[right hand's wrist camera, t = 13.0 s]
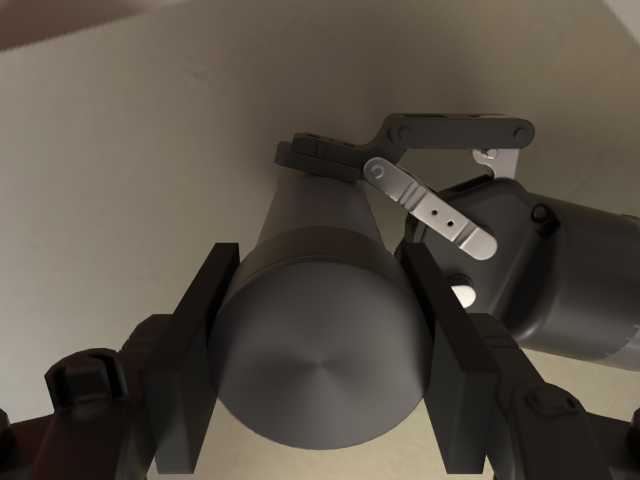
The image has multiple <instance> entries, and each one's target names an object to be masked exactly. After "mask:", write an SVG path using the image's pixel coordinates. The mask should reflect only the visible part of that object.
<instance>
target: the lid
mask: <svg viewBox="0 0 640 480" xmlns="http://www.w3.org/2000/svg"><path fill="white" fill-rule="evenodd" d="M433 351H434V341H433V337H432V333H431V330H430V327H429V324H428V322H427V320H426V317H425V315H424V313H423V310H422V308H421V306H420V303H419V301H418V299H417V296H416V294H415V292H414V289H413V287H412V285H411V282H410V280H409V278H408V276H407V274H406V272H405V270H404V269H403V267H402V266H401V264H400V263H399V261H398V260H397V259H396V258H395V257H394V256H393V255H392V254H391V253H390V252H389V251H388V250H387V249H386V248H384V247H383V246H382V245H381V244H379V243H377V242H376V241H374V240H373V239H371V238H369V237H367V236H365V235H363V234H361V233H358V232H355V231H352V230H349V229H344V228H339V227H334V226H307V227H301V228H296V229H292V230H289V231H286V232H282V233H280V234H278V235H276V236H274V237H271V238H269V239H268V240H266V241H265V242H263V243H261V244H260V245H258V246H257V247H256V248H255V249H254V250H253V251H251V252H250V253H249V254H248V255H247V256H246V257H245V259H244V260H243V261H242V262H241V263H240V265H239V266H238V268H237V269H236V271H235V273H234V275H233V277H232V279H231V281H230V283H229V286H228V288H227V291H226V293H225V295H224V298H223V300H222V302H221V305H220V307H219V309H218V312H217V314H216V316H215V319H214V321H213V323H212V326H211V329H210V332H209V335H208V339H207V356H208V365H209V373H210V380H211V384H212V387H213V389H214V391H215V393H216V395H217V397H218V399H219V400H220V402H221V403H222V404H223V406H224V407H225V408H226V410H227V411H228V412H229V413H230V414H231V415H232V416H233V417H234V418H235V419H236V420H237V421H239V422H240V423H241V424H242V425H244V426H245V427H246V428H248V429H249V430H251V431H253V432H254V433H256V434H258V435H260V436H262V437H264V438H266V439H268V440H271V441H273V442H276V443H279V444H282V445H286V446H290V447H295V448H302V449H312V450H329V449H339V448H346V447H350V446H354V445H358V444H362V443H364V442H367V441H370V440H373V439H375V438H377V437H379V436H381V435H383V434H385V433H386V432H388V431H389V430H391V429H393V428H394V427H396V426H397V425H398V424H399V423H401V422H402V421H403V420H404V419H406V417H407V416H408V415H409V414H410V413H411V412H412V411H413V410H414V409H415V408H416V406H417V405H418V404H419V402H420V401H421V400H422V398H423V396H424V394H425V392H426V390H427V388H428V386H429V383H430V376H431V368H432V360H433Z"/></svg>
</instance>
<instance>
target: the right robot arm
mask: <svg viewBox="0 0 640 480" xmlns="http://www.w3.org/2000/svg"><path fill="white" fill-rule="evenodd" d="M400 264H401V266H402V267H403V269H404V270H405V272H406V274H407V276H408V278H409V280H410V282H411V285H412V287H413V289H414V292H415V294H416V296H417V299H418V301H419V303H420V306H421V308H422V310H423V313H424V315H425V317H426V320H427V322H428V324H429V327H430V330H431V333H432V337H433V341H434V351H433V360H432V368H431V376H430V383H429V386H428V388H427V390H426V392H425V394H424V396H423V398H424V402H425V405H426V408H427V411H428V414H429V418H430V421H431V424H432V427H433V430H434V433H435V437H436V440H437V443H438V446H439V449H440V452H441V456H442V459H443V462H444V465H445V468H446V472H447V474H482V473H483V468H484V463H485V458H486V455H487V457H488V459H489V462H490V464H491V466H492V469H493V471H494V476H493V480H640V408H639V409H637V410H636V411H635V412H634V415H633V418H632V420H631V422H626V421H622V420H618V419H613V418H609V417H604V416H600V415H596V414H592V413H589V412H586V410H585V409H584V407H583V406H582V404H581V403H580V401H579V400H578V399H576V398H575V397H574V396H573V395H571V394H570V393H569V392H568V391H566V390H564V389H562V388H560V387H558V386H556V385H553V384H549V383H546V382H545V381H544V380H543V378H542V377H541V376H540V374H539V373H538V372H537V370H536V369H535V367H534V366H533V365H532V363H531V362H530V360H529V359H528V358H527V356H526V355H525V354H524V352H523V351H522V349H521V348H519V345H518V344H517V342H516V341H515V340H514V338H512V337H511V334H510V333H509V331H508V330H507V329H506V327H505V326H504V324H503V323H501V322H500V321H499V320H497V319H496V318H494V317H493V316H491V315H490V314H488V313H467V312H466V310H465V309H464V307H463V306H462V304H461V302H460V301H459V299H458V297H457V296H456V294H455V292H454V291H453V289H452V287H451V286H450V284H449V282H448V281H447V279H446V277H445V276H444V274H443V273H442V271H441V269H440V268H439V266H438V264H437V263H436V261H435V259H434V258H433V256H432V254H431V253H430V251H429V249H428V248H427V246H426V244H425V243H402V249H401V262H400ZM239 265H240V257H239V244H238V243H216V244H215V245H214V247H213V248H212V250H211V252H210V253H209V255H208V257H207V258H206V260H205V262H204V263H203V265H202V267H201V268H200V270H199V272H198V273H197V275H196V277H195V278H194V280H193V281H192V283H191V285H190V286H189V288H188V290H187V291H186V293H185V295H184V296H183V298H182V300H181V301H180V303H179V305H178V306H177V308H176V310H175V311H174V313H173V314H153V315H151V316H150V317H148V318H147V319H145V320H144V321H143V322H141V323H140V324H138V325H137V327H136V328H135V330H134V331H133V332H132V334H131V335H130V337H129V339H127V341H126V342H125V344H124V345H123V346H122V350H119V352H118V353H117V352H116V351H115V350H111V349H107V348H93V349H88V350H84V351H80V352H76V353H74V354H72V355H69V356H67V357H65V358H63V359H61V360H60V361H59V362H57V363H56V364H54V365H53V366H51V368H50V369H49V370H48V371H47V373H46V374H45V375H44V377H45V380H46V383H47V387H48V390H49V393H50V397H51V400H52V403H53V407H54V410H55V411H54V414H51V415H47V416H44V417H39V418H35V419H31V420H26V421H22V422H17V423H13V424H10V422H9V419H8V416H7V413H5V412H4V411H3V410H2V409H0V480H147V476H146V474H147V472H148V469H149V467H150V465H151V462H152V460H153V458H154V455H155V460H156V466H157V471H158V474H193V473H194V470H195V467H196V463H197V460H198V457H199V454H200V451H201V447H202V444H203V441H204V438H205V435H206V432H207V428H208V425H209V422H210V419H211V416H212V412H213V409H214V406H215V403H216V400H217V395H216V393H215V391H214V389H213V387H212V384H211V380H210V373H209V365H208V356H207V339H208V335H209V332H210V329H211V326H212V323H213V321H214V319H215V316H216V314H217V312H218V309H219V307H220V305H221V302H222V300H223V298H224V295H225V293H226V291H227V288H228V286H229V283H230V281H231V279H232V277H233V275H234V273H235V271H236V269H237V268H238V266H239Z"/></svg>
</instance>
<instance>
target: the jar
mask: <svg viewBox="0 0 640 480" xmlns="http://www.w3.org/2000/svg"><path fill="white" fill-rule="evenodd" d="M307 226H334V227H339V228H344V229H349V230H352V231H355V232H358V233H361V234H363V235H365V236H367V237H369V238H371V239H373V240H374V241H376V242H377V243H379V244H381V245H382V246H383V247H384V248H385V246H384V244H383V241H382V238H381V236H380V233H379V230H378V227H377V225H376V222H375V219H374V217H373V214H372V211H371V208H370V206H369V203H368V200H367V198H366V195H365V192H364V190H363V187H362V184H361V181H360V179H358V181H357V184H353V183H349V182H345V181H341V180H338V179H334V178H329V177H325V176H321V175H317V174H313V173H308V172H304V171H300V170H296V169H292V168H288V167H286V168H285V170H284V171H283V174H282V176H281V179H280V182H279V185H278V187H277V190H276V193H275V195H274V198H273V201H272V204H271V206H270V209H269V212H268V214H267V217H266V220H265V223H264V225H263V228H262V231H261V234H260V236H259V239H258V242H257V244H256V247H257V246H258V245H260V244H261V243H263V242H265V241H266V240H268V239H269V238H271V237H274V236H276V235H278V234H280V233H282V232H286V231H289V230H292V229H296V228H301V227H307ZM256 247H255V248H256Z"/></svg>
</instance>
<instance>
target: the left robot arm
mask: <svg viewBox="0 0 640 480" xmlns="http://www.w3.org/2000/svg"><path fill="white" fill-rule="evenodd" d="M534 134H535V129H534V126H533V124H532V123H531V122H529V121H528V120H524V119H520V118H516V117H511V116H507V115H503V114H429V113H394V114H391V115H389V116H388V117H387V118H386V119H385V120H384V122H383V126H382V128H381V129H380V131H379V132H378V133H377V135H376V136H375V138H374V139H373V140H372V141H371V142H369V143H368V144H365V145H354V144H350V143H347V142H343V141H339V140H335V139H331V138H327V137H323V136H319V135H315V134H311V133H307V132H306V133H299V134H295V136H294V138H293V142H292V143H290V142H283V141H281V142H279V144H278V146H277V150H276V155H275V160H274V162H275V163H276V164H278V165H281V166H284V167H288V168H292V169H296V170H300V171H304V172H308V173H313V174H317V175H321V176H325V177H329V178H334V179H338V180H341V181H345V182H349V183H353V184H357V181H358V179H362V180H366V181H367V182H369V183H370V184H372V185H373V186H374V187H376V188H377V189H379V190H380V191H382V192H383V193H385V194H386V195H388V196H389V197H390V198H392V199H393V200H395V201H396V202H398V203H399V204H400V205H401V206H402V207H403V208H405V209H406V210H407V211H408V215H407V218H406V221H405V236H404V238H403V239H402V241H401V242H400V244H399V245H398V247H397V248H396V250H395V253H394V257H395V258H396V259H397V260H398V261H399V263H400V262H401V249H402V243H425V244H426V246H427V248H428V249H429V251H430V253H431V254H432V256H433V258H434V259H435V261H436V263H437V264H438V266H439V268H440V269H441V271H442V273H443V274H444V276H445V277H446V279H447V281H448V282H449V284H450V286H451V287H452V289H453V291H454V292H455V294H456V296H457V297H458V299H459V301H460V302H461V304H462V306H463V307H464V309H465V310H466V312H467V313H488V314H490V315H491V316H493V317H494V318H496V319H497V320H499V321H500V322H501V323H503V324H504V326H505V327H506V329H507V330H508V331H509V333H510V334H511V337H512V338H514V340H515V341H516V342H517V344H518V345H519V347H521V348H526V349H530V350H535V351H540V352H544V353H549V354H553V355H558V356H563V357H567V358H572V359H576V360H581V361H586V362H590V363H595V364H600V365H604V366H609V367H614V368H619V369H624V370H629V371H638V372H640V219H639V218H638V217H634V216H630V215H623V214H620V215H617V214H613V213H609V212H605V211H601V210H597V209H593V208H589V207H585V206H581V205H577V204H573V203H569V202H565V201H561V200H557V199H553V198H550V197H546V196H542V195H538V194H534V193H530V192H527V191H526V190H525V189H524V187H523V186H522V185H521V184H520V183H519V182H517V181H516V180H514V178H515V172H516V167H517V161H518V156H519V150H520V149H522V148H524V147H526V146H528V145H529V144H530V143H531V141H532V140H533V138H534ZM408 148H425V149H466V153H467V155H468V156H469V158H471V159H472V160H474V161H476V162H478V163H480V164H484V165H485V166H486V168H487V174H485V175H482V176H479V177H477V178H474V179H471V180H469V181H466V182H463V183H461V184H458V185H455V186H453V187H450V188H447V189H445V190H442V191H439V192H438V191H437V190H435V189H434V188H433V187H431V186H430V185H428V184H427V183H426V182H424V181H423V180H421V179H420V178H419V177H417V176H416V175H414V174H413V173H411V172H410V171H408V170H406V169H405V168H403V167H402V166H400V165H399V164H398V163H397V162H398V161H399V160H400V158H401V157H402V156H403V154H404V153H405V152H406V150H407V149H408Z"/></svg>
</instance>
